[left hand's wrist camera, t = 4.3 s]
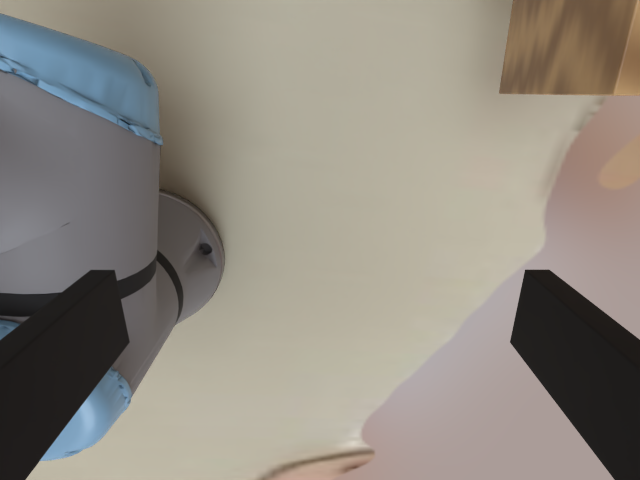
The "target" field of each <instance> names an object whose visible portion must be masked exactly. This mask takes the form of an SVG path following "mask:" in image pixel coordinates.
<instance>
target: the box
mask: <svg viewBox="0 0 640 480" xmlns="http://www.w3.org/2000/svg"><path fill="white" fill-rule="evenodd" d="M499 93H500V94H543V95H608V96H624V95H625V96H635V95H636V96H639V95H640V0H513V5H512V12H511V19H510V25H509V32H508V38H507V45H506V51H505V58H504V65H503V71H502V78H501V84H500V91H499Z"/></svg>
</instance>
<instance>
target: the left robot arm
mask: <svg viewBox="0 0 640 480" xmlns="http://www.w3.org/2000/svg"><path fill="white" fill-rule="evenodd" d="M160 145H163V138H162V136H161V135H160V127H159V94H158V87H157V84H156V82H155V79H154V78H153V76H152V74H151V73H150V72H149V70H148V69H147V68H146V67H145V66H143V65H142V64H141V63H140V62H138V61H137V60H135V59H133V58H131V57H129V56H126V55H124V54H121V53H119V52H116V51H113V50H111V49H108V48H105V47H103V46H100V45H97V44H94V43H91V42H88V41H85V40H82V39H79V38H76V37H73V36H70V35H67V34H64V33H61V32H58V31H55V30H52V29H49V28H46V27H43V26H40V25H36V24H33V23H30V22H27V21H24V20H20V19H17V18H14V17H11V16H7V15H4V14H1V13H0V480H25V479H26V478H27V477H28V475H29V474H30V473H31V471H32V470H33V469H34V468H35V466H36V465H37V464H38V462H39V461H47V460H56V459H61V458H66V457H69V456H72V455H74V454H77V453H79V452H81V451H82V450H83V449H86V448H89V447H91V446H93V445H94V444H96V443H97V442H98V441H99V440H100V439H101V438H102V437H103V436H104V435H105V434H106V433H107V431H108V430H109V429H110V427H111V426H112V425H113V424H114V422H115V421H116V420H117V419H118V417H119V416H120V415H121V414H122V413H123V412H124V411H125V410H126V409H127V407H128V406H129V404H130V402H131V397H132V396H133V394H134V392H135V391H136V389H137V387H138V386H139V384H140V382H141V381H142V379H143V377H144V376H145V374H146V372H147V371H148V369H149V367H150V366H151V364H152V362H153V361H154V359H155V357H156V356H157V354H158V352H159V351H160V349H161V347H162V346H163V344H164V342H165V341H166V339H167V337H168V336H169V334H170V332H171V331H172V329H173V327H174V326H175V325H176V324H178V323H179V322H181V321H183V320H184V319H186V318H188V317H189V316H191V315H193V314H194V313H196V312H197V311H198V310H200V309H201V308H202V307H203V306H204V305H205V304H206V303H207V302H208V301H209V300H210V298H211V297H212V296H213V294H214V293H215V291H216V289H217V287H218V285H219V283H220V281H221V278H222V275H223V271H224V250H223V246H222V242H221V239H220V237H219V235H218V232H217V231H216V229H215V227H214V225H213V224H212V223H211V221H210V220H209V219H208V217H207V216H206V215H205V214H204V213H203V212H202V211H201V210H200V209H199V208H197V207H196V206H195V205H194V204H192V203H191V202H189V201H188V200H186V199H184V198H182V197H180V196H178V195H176V194H173V193H171V192H167V191H164V190H159V173H160ZM510 343H511V344H512V345H513V347H514V348H515V349H516V351H517V352H518V353H519V355H520V356H521V357H522V358H523V360H524V361H525V362H526V364H527V365H528V366H529V368H530V369H531V370H532V372H533V373H534V374H535V376H536V377H537V378H538V379H539V381H540V382H541V383H542V385H543V386H544V387H545V389H546V390H547V391H548V393H549V394H550V395H551V397H552V398H553V399H554V400H555V402H556V403H557V404H558V406H559V407H560V408H561V410H562V411H563V412H564V414H565V415H566V416H567V418H568V419H569V420H570V422H571V423H572V424H573V426H574V427H575V428H576V429H577V431H578V432H579V433H580V435H581V436H582V437H583V439H584V440H585V441H586V443H587V444H588V445H589V446H590V448H591V449H592V450H593V452H594V453H595V454H596V456H597V457H598V458H599V460H600V461H601V462H602V464H603V465H604V466H605V467H606V469H607V470H608V471H609V473H610V474H611V475H612V477H613V478H614V479H615V480H640V340H639V339H638V338H637V337H635V336H634V335H633V334H631V333H630V332H629V331H628V330H626V329H625V328H624V327H622V326H621V325H620V324H619V323H617V322H616V321H615V320H613V319H612V318H611V317H610V316H608V315H607V314H606V313H604V312H603V311H602V310H600V309H599V308H598V307H597V306H595V305H594V304H593V303H591V302H590V301H589V300H588V299H586V298H585V297H584V296H582V295H581V294H580V293H578V292H577V291H576V290H575V289H573V288H572V287H571V286H569V285H568V284H567V283H566V282H564V281H563V280H562V279H560V278H559V277H558V276H557V275H555V274H554V273H553V272H551V271H550V270H525V274H524V278H523V283H522V288H521V293H520V297H519V302H518V307H517V312H516V317H515V321H514V326H513V331H512V336H511V341H510Z"/></svg>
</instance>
